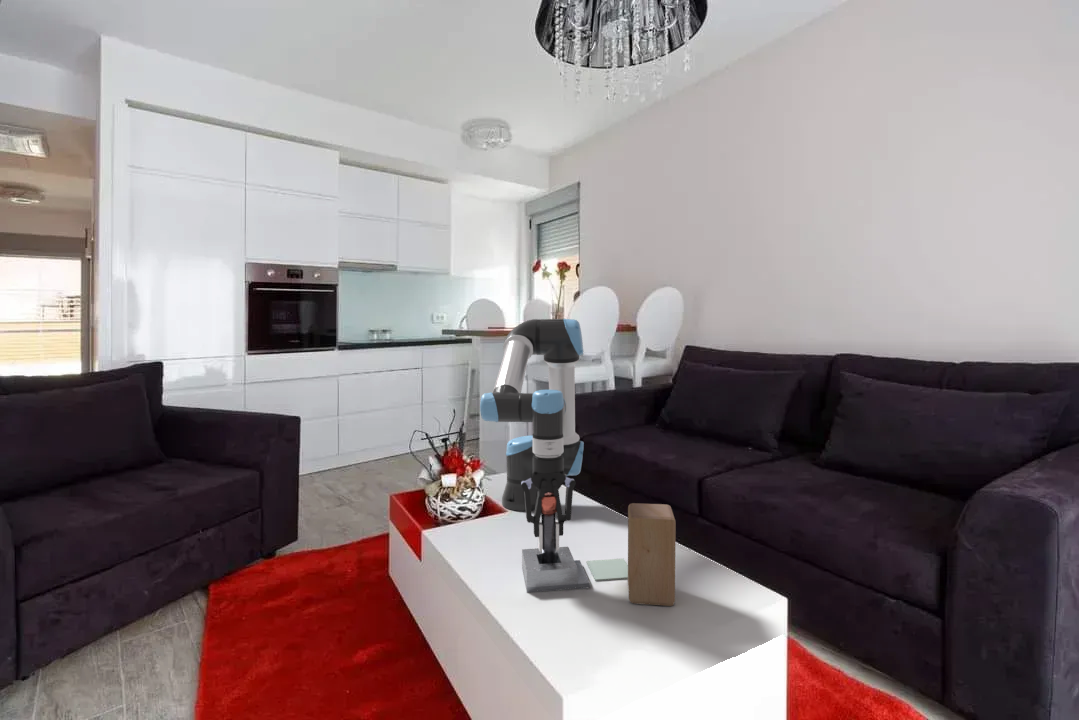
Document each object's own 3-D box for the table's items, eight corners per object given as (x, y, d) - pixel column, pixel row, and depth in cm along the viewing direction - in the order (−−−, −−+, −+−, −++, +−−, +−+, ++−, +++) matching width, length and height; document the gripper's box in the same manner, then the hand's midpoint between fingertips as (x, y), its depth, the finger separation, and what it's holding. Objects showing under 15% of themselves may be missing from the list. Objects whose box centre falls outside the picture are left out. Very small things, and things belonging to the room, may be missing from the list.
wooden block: (628, 605, 114) (629, 516, 113) (627, 582, 124) (628, 501, 122) (675, 608, 112) (676, 519, 111) (670, 585, 122) (671, 503, 121)
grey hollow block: (522, 568, 131) (521, 549, 131) (579, 564, 133) (579, 545, 133) (526, 592, 120) (526, 571, 119) (590, 587, 121) (590, 567, 121)
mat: (586, 562, 135) (586, 560, 135) (623, 559, 136) (623, 558, 136) (595, 581, 125) (595, 579, 125) (635, 578, 126) (635, 576, 126)
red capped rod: (540, 571, 124) (540, 498, 122) (538, 563, 128) (538, 492, 127) (558, 570, 124) (558, 497, 123) (556, 561, 129) (555, 491, 127)
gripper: (515, 459, 120) (516, 557, 121) (584, 456, 122) (584, 553, 123) (513, 451, 127) (514, 544, 129) (578, 449, 129) (578, 540, 131)
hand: (548, 548), depth 126 cm, fingers closed on red capped rod, 3 cm apart
